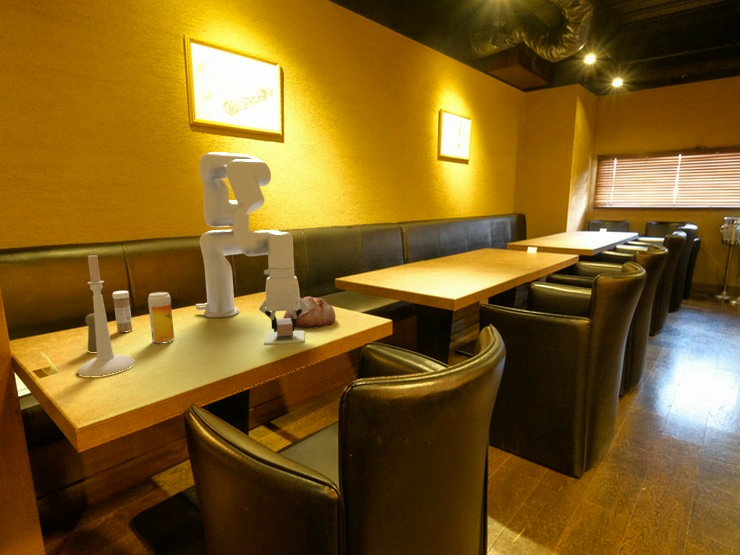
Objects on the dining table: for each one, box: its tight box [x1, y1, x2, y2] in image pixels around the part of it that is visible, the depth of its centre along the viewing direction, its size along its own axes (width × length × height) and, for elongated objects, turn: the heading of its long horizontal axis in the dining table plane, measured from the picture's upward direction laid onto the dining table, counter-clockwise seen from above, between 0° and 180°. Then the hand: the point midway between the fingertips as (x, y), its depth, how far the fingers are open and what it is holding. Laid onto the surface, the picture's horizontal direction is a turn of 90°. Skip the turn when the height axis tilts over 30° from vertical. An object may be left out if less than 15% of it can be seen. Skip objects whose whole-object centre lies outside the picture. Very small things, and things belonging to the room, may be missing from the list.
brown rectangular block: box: [276, 317, 293, 336], centre depth 133 cm, size 7×4×4 cm, turn 15°
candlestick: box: [76, 253, 136, 377], centre depth 109 cm, size 13×13×30 cm
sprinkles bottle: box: [112, 290, 133, 333], centre depth 141 cm, size 5×5×13 cm
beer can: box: [147, 291, 175, 344], centre depth 131 cm, size 6×6×15 cm
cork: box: [85, 312, 108, 352], centre depth 124 cm, size 6×6×11 cm
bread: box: [283, 295, 337, 329], centre depth 150 cm, size 16×20×10 cm
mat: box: [263, 330, 305, 346], centre depth 133 cm, size 12×10×1 cm
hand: (284, 329), depth 133 cm, fingers closed on brown rectangular block, 4 cm apart
